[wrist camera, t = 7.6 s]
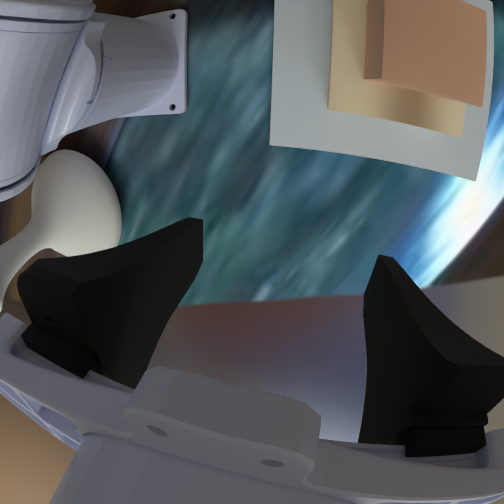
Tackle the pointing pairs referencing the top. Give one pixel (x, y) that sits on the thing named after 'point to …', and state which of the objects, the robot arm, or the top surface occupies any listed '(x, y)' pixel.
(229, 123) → the top surface
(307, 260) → the top surface
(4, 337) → the robot arm
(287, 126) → the board
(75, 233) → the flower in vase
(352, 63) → the maple base block
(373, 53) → the terracotta block
